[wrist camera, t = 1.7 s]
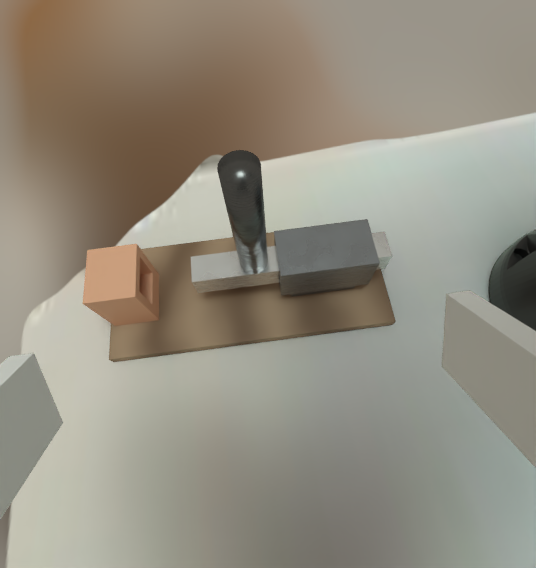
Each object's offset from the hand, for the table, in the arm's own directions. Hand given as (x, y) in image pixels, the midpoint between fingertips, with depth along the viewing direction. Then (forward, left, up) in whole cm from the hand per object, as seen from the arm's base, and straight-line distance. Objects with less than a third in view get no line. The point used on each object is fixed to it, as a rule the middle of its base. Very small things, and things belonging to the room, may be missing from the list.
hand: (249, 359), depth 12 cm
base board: (0, -11, -21) cm, 24 cm away
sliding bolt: (-3, -11, -18) cm, 21 cm away
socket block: (+11, -11, -20) cm, 26 cm away
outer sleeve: (-6, -11, -20) cm, 24 cm away
